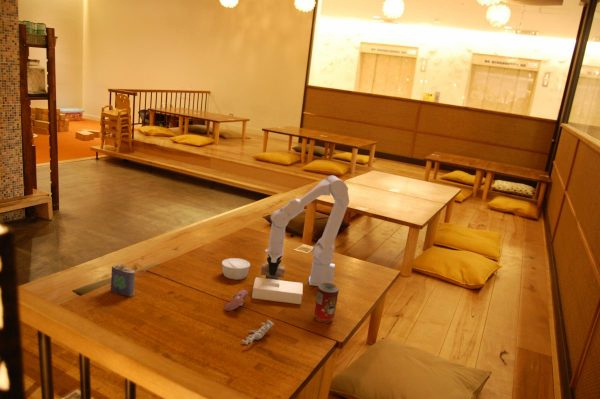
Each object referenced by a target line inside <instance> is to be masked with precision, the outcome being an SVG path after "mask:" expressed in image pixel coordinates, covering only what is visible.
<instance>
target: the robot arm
mask: <svg viewBox="0 0 600 399" xmlns="http://www.w3.org/2000/svg"><path fill="white" fill-rule="evenodd" d="M321 196H332V198H333V200H334V204H333V206H332V208H331V212H330V214H329V217H328V219H327V223H326V225H325V227H324V231H323V233H322V236H321V237H320V238H319V239H318V241H317V242H316V244H314V246H313V247H312V255H313V259H312V263H311V270H310V276H308V286H316V287H318V286H319V285H320V284H323V283H330V284H333V283H334V278H335V269H336V264H335V263H332V262H333V261H334V252H335V240H336V238H337V235H338V233H339V229H340V227H341V225H342V222H343V220H344V216H345V214H346V211H347V209H348V207H349V203H350V199H349V187H348V185H347V184H346V183H345V182H344V181H343V180H342V179H340V178H339V177H338V176H336V175H333V174H332V175H328V176H326V178H324V179H322V180H321V181H320V182H319V183H318V184H317V185H315V186H314V187H313V188H311V189H310V190H309V191H308V192H306V193H305V194H304V195H303V196H301V197H300V198H294V199H290V200H289V202H288V203H287V204H285V205H284V206H281V207H280V208H279V209H276V210H274V211H273V212H272V214H271V215H270V221H271V227H270V232H269V241H268V248H267V249H265V250H264V253H265V254H267V256H268V257H266V262H267V263H268V264H269V274H270V275H273V276H275V274H276V271H277V268H278V266H280V264H281V263H282V257H283V255H284V245H285V237H286V227H287V225H289V223H290V221H291V220H292V219H293V218H295V217H296V216H298V215H300V214H301V213H302V212H304V211H305V210H304V209H305V206H307V205H309V204H310V203H311V202H314V201H315V200H317V199H318V198H319V197H321ZM333 285H334V284H333Z"/></svg>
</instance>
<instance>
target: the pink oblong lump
mask: <svg viewBox="0 0 600 399" xmlns="http://www.w3.org/2000/svg"><path fill="white" fill-rule="evenodd" d="M248 294H249V291H247V290H244V289H243V288H242V289H241V290H240V291H238V292H237V293H235V294H233V295H232V300H231V301H230V302H228V303H226V304H225V305H224V310H225V311H227V312H228V311H229V312H230V311H233V310H235V309H236V310H237V309H238V308H239V306H243V304H244V303H243V301H244V300H245V299H246V298H248V297H247V296H248Z"/></svg>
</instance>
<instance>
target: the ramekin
mask: <svg viewBox="0 0 600 399" xmlns="http://www.w3.org/2000/svg"><path fill="white" fill-rule="evenodd" d="M221 267H222V274H223V276H224V277H225V278H227V279H230V280H236V281H239V280H242V279H243V280H244V279H245V278H246V277H247V276H248V273H249V270H250V268H251V263H250V262H249V261H248V260H246V259H243V258H237V257H236V258H235V257H233V258H230V257H229V258H226V259H224V260H222V262H221Z"/></svg>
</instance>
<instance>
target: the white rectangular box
mask: <svg viewBox="0 0 600 399" xmlns="http://www.w3.org/2000/svg"><path fill="white" fill-rule="evenodd" d="M253 283H254V284H253V287H252V295H251V299H256V300H264V301H271V302H272V301H273V302H280V303H289V304H297V305H301V304H302V302H303V301H302V299H303V293H304V292H303V288H304V287H303V282H297V281H296V282H295V281H289V280H288V281H287V280H281V279H278V280H274V279H266V277H255V279H254V282H253Z"/></svg>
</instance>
